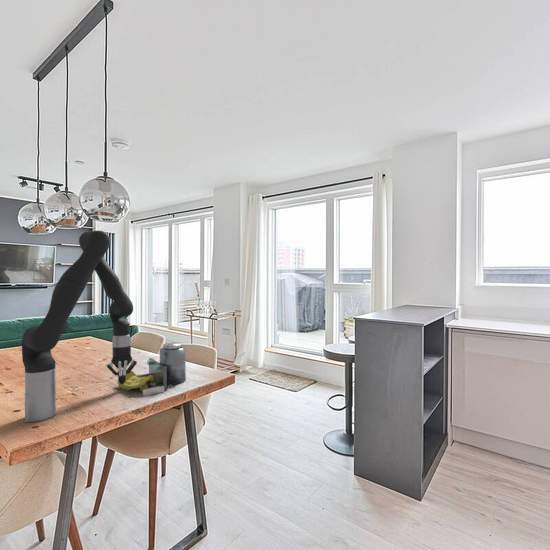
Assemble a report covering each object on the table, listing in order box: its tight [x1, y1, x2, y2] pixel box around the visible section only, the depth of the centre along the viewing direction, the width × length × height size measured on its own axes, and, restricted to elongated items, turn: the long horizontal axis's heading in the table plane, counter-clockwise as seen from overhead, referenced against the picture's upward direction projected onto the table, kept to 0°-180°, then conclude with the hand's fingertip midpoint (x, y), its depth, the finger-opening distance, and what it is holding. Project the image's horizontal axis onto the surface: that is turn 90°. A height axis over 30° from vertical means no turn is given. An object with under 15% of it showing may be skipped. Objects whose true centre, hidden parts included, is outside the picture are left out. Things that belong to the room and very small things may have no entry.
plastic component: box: [116, 370, 154, 392], centre depth 155 cm, size 20×7×10 cm
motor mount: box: [136, 341, 187, 397], centre depth 162 cm, size 23×26×18 cm
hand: (121, 383), depth 152 cm, fingers closed
